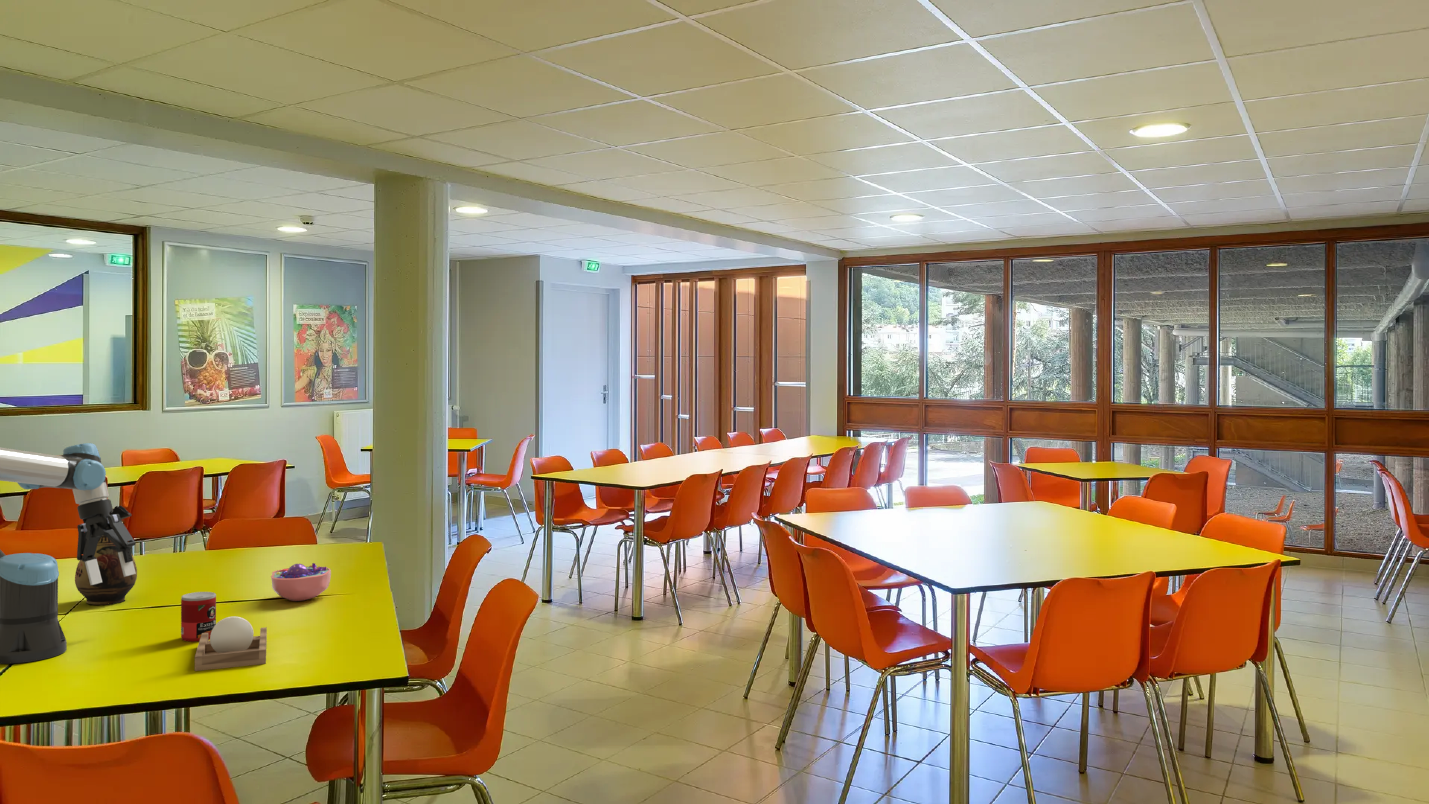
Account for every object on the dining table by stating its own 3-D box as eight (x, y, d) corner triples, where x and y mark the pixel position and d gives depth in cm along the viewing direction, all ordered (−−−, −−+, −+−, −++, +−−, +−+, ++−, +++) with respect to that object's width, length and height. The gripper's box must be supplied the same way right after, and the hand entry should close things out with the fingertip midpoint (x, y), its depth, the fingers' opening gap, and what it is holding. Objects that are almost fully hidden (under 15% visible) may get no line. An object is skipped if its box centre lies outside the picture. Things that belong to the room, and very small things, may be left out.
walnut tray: (265, 663, 213) (265, 649, 213) (194, 671, 207) (194, 656, 207) (266, 639, 233) (266, 627, 233) (201, 646, 227) (201, 633, 227)
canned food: (200, 643, 230) (201, 599, 230) (173, 640, 232) (173, 597, 231) (223, 635, 237) (223, 592, 237) (196, 633, 239) (196, 591, 239)
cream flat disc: (253, 653, 217) (253, 615, 217) (209, 658, 213) (210, 619, 213) (253, 652, 218) (253, 614, 218) (210, 656, 214) (210, 618, 214)
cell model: (341, 591, 289) (341, 556, 289) (316, 606, 269) (316, 568, 269) (287, 591, 289) (287, 555, 289) (257, 606, 269) (257, 567, 269)
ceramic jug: (142, 594, 282) (142, 497, 282) (130, 605, 268) (131, 503, 268) (76, 598, 276) (77, 498, 276) (61, 610, 262) (61, 505, 261)
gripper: (138, 489, 242) (157, 567, 241) (77, 508, 251) (96, 583, 251) (110, 494, 235) (130, 575, 234) (49, 513, 244) (68, 591, 244)
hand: (113, 579), depth 243 cm, fingers open, 13 cm apart
